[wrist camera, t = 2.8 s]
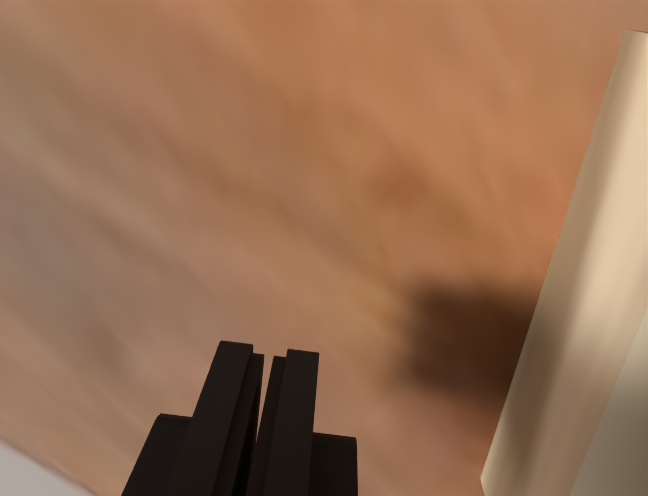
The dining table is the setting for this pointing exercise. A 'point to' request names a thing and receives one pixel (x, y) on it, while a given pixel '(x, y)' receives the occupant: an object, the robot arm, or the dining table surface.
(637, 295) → the t block
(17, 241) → the dining table surface
